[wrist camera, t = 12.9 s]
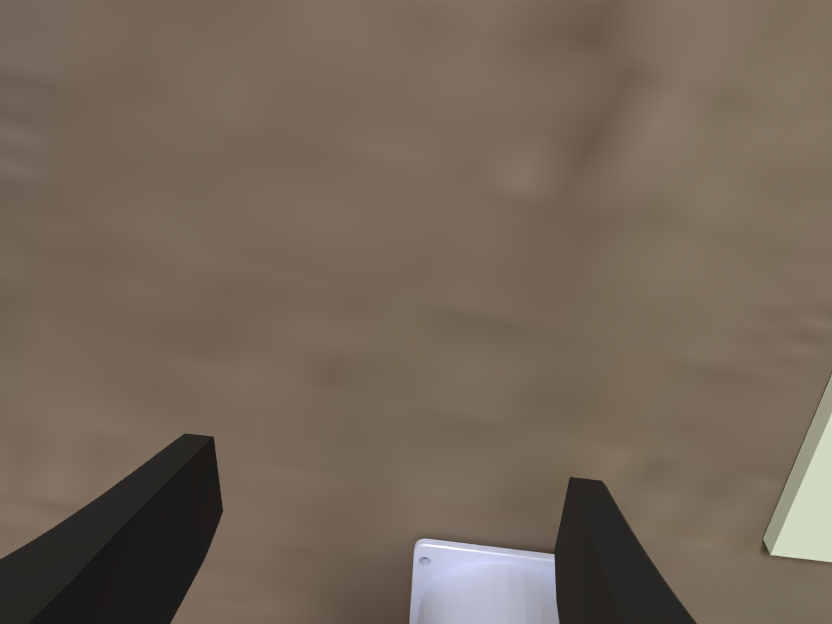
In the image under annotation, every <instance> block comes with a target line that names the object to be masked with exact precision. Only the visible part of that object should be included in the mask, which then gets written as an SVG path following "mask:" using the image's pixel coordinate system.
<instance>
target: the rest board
mask: <svg viewBox="0 0 832 624" xmlns="http://www.w3.org/2000/svg"><path fill="white" fill-rule="evenodd" d="M763 540H764V542H765V544H766V546H767V548H768V551H769V553H770V555H776V556H784V557H793V558H801V559H809V560H818V561H826V562H832V375H831V377H830V380H829V382H828V384H827V387H826V389H825V392H824V394H823V396H822V399H821V401H820V404H819V406H818V408H817V411H816V413H815V416H814V418H813V420H812V423H811V425H810V428H809V430H808V432H807V435H806V437H805V440H804V442H803V444H802V447H801V449H800V452H799V454H798V456H797V459H796V461H795V464H794V466H793V468H792V471H791V473H790V476H789V478H788V480H787V483H786V485H785V488H784V490H783V492H782V495H781V497H780V500H779V502H778V504H777V507H776V509H775V511H774V514H773V516H772V519H771V521H770V523H769V526H768V528H767V531H766V533H765V535H764V538H763Z"/></svg>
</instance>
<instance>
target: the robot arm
mask: <svg viewBox="0 0 832 624" xmlns="http://www.w3.org/2000/svg"><path fill="white" fill-rule="evenodd" d="M222 513H223V507H222V499H221V491H220V483H219V476H218V468H217V460H216V452H215V444H214V437H212V436H203V435H194V434H184V435H182V436H181V437H179V438H178V439H177V440H175V441H174V442H173V443H171V444H170V445H169V446H167V447H166V448H165V449H163V450H162V451H161V452H159V453H158V454H157V455H155V456H154V457H153V458H151V459H150V460H149V461H147V462H146V463H145V464H143V465H142V466H141V467H139V468H138V469H137V470H135V471H134V472H133V473H131V474H130V475H129V476H127V477H126V478H124V479H123V480H122V481H120V482H119V483H118V484H116V485H115V486H113V487H112V488H111V489H109V490H108V491H107V492H105V493H104V494H103V495H101V496H100V497H98V498H97V499H95V500H94V501H92V502H91V503H89V504H88V505H86V506H85V507H83V508H82V509H80V510H79V511H77V512H76V513H74V514H73V515H72V516H70V517H69V518H67V519H66V520H64V521H63V522H61V523H60V524H58V525H57V526H55V527H54V528H52V529H51V530H49V531H47V532H46V533H44V534H43V535H41V536H39V537H38V538H36V539H35V540H33V541H31V542H30V543H28V544H26V545H25V546H23V547H21V548H19V549H18V550H16V551H14V552H12V553H11V554H9V555H7V556H5V557H4V558H2V559H0V624H170V623H171V621H172V619H173V617H174V616H175V614H176V612H177V610H178V608H179V606H180V604H181V603H182V601H183V599H184V597H185V595H186V593H187V591H188V590H189V588H190V586H191V584H192V582H193V580H194V578H195V576H196V574H197V573H198V571H199V569H200V567H201V565H202V563H203V561H204V559H205V557H206V554H207V552H208V549H209V547H210V544H211V542H212V539H213V537H214V534H215V532H216V529H217V526H218V523H219V521H220V518H221V515H222ZM422 557H426V558H427V559H425V558H422ZM409 624H697V623H696V622H695V621H694V619H693V618H692V617H691V615H690V614H689V613H688V611H687V610H686V609H685V607H684V606H683V605H682V603H681V602H680V601H679V599H678V598H677V597H676V595H675V594H674V593H673V591H672V590H671V588H670V587H669V586H668V584H667V583H666V581H665V580H664V579H663V577H662V576H661V574H660V573H659V571H658V570H657V568H656V567H655V565H654V564H653V562H652V561H651V559H650V558H649V556H648V555H647V553H646V552H645V550H644V549H643V547H642V546H641V544H640V543H639V541H638V539H637V538H636V536H635V535H634V533H633V531H632V530H631V528H630V526H629V525H628V523H627V522H626V520H625V518H624V516H623V515H622V513H621V511H620V510H619V508H618V506H617V504H616V503H615V501H614V499H613V497H612V496H611V494H610V492H609V490H608V488H607V487H606V485H605V484H604V483H603V482H602V481H599V480H590V479H582V478H573V477H570V479H569V484H568V489H567V494H566V499H565V503H564V508H563V513H562V518H561V522H560V527H559V532H558V537H557V542H556V546H555V551H554V554H548V553H540V552H531V551H523V550H515V549H507V548H499V547H491V546H483V545H475V544H467V543H458V542H450V541H442V540H434V539H420V540H418V541H417V542H416V544H415V548H414V560H413V575H412V590H411V606H410V621H409Z"/></svg>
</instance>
